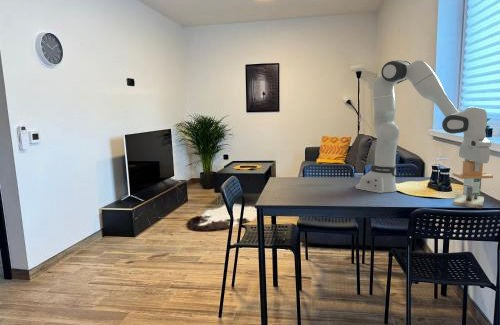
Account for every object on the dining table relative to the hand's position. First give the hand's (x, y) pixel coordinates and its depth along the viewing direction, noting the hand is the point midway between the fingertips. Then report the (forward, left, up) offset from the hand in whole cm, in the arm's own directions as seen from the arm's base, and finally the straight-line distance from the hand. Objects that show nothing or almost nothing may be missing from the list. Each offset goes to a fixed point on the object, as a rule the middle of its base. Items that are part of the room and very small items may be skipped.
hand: (471, 169), depth 167 cm
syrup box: (0, +19, -17) cm, 26 cm away
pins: (+1, +2, -15) cm, 15 cm away
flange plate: (0, 0, -4) cm, 4 cm away
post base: (0, +2, -17) cm, 17 cm away
